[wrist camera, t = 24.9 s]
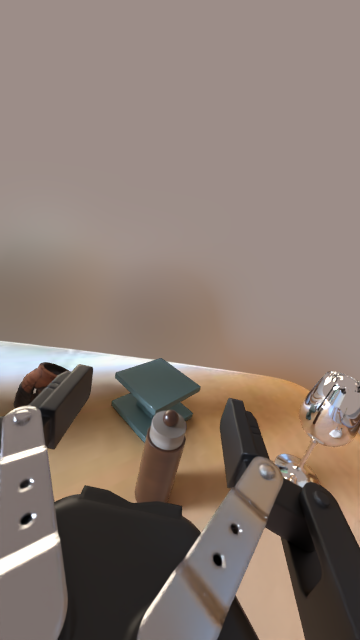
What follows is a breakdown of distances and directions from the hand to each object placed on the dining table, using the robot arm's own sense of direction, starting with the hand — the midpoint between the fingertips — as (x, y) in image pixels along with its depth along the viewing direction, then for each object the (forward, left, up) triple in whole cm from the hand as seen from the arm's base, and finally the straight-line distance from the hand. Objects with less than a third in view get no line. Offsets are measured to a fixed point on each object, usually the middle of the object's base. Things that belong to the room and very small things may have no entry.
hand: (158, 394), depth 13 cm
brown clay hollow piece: (-31, +4, -26) cm, 41 cm away
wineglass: (+8, +32, -26) cm, 42 cm away
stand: (-18, +20, -26) cm, 37 cm away
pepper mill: (-6, +10, -26) cm, 29 cm away
